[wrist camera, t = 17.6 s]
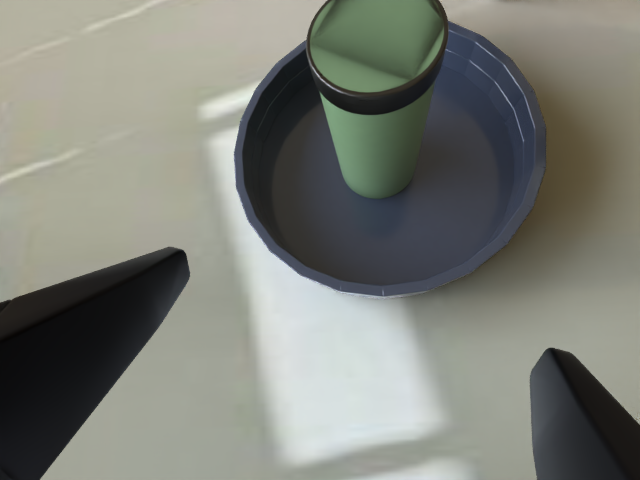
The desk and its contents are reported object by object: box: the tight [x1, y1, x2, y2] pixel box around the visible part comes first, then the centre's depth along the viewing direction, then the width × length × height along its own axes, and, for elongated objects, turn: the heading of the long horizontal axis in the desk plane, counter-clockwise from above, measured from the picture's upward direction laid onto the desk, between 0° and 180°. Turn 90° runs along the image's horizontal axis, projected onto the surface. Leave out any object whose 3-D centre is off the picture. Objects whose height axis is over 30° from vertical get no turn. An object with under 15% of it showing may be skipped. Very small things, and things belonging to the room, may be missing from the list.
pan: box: [234, 21, 546, 299], centre depth 22 cm, size 18×18×4 cm
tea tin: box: [306, 0, 449, 199], centre depth 18 cm, size 5×5×11 cm
